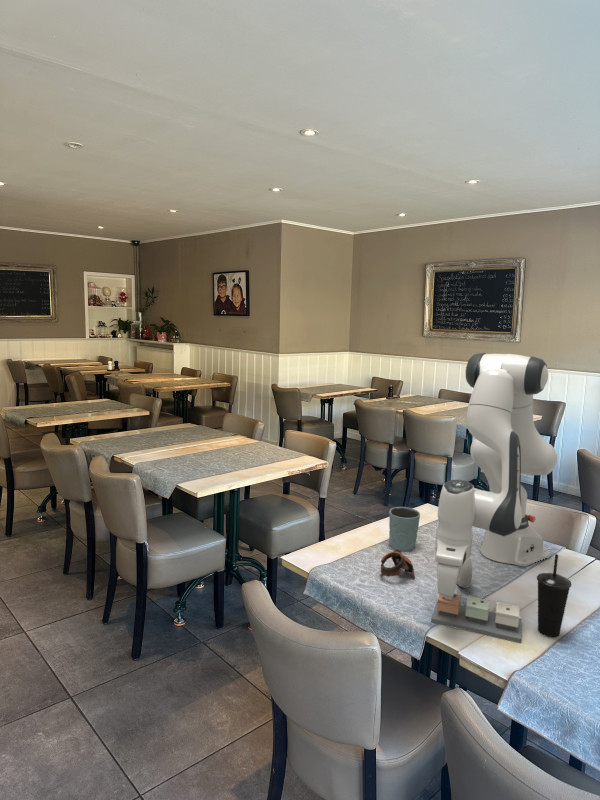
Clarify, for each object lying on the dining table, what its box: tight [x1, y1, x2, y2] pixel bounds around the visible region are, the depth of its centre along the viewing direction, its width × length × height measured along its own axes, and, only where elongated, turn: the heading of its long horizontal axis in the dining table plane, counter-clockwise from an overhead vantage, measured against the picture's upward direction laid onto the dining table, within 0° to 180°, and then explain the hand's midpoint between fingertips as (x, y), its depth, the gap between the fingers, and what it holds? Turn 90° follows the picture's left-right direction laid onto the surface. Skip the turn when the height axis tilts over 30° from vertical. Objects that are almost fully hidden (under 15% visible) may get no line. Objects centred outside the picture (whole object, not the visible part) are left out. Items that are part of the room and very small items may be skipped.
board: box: [430, 602, 523, 644], centre depth 139 cm, size 21×10×2 cm, turn 68°
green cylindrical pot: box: [388, 506, 421, 552], centre depth 184 cm, size 10×10×12 cm
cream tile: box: [495, 601, 520, 628], centre depth 136 cm, size 5×5×3 cm
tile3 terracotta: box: [436, 593, 462, 615], centre depth 141 cm, size 5×5×3 cm
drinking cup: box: [536, 553, 572, 639], centre depth 135 cm, size 8×8×20 cm
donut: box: [457, 556, 473, 589], centre depth 158 cm, size 10×4×10 cm, turn 178°
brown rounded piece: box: [380, 549, 416, 580], centre depth 164 cm, size 12×10×8 cm
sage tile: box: [465, 595, 491, 621], centre depth 139 cm, size 5×5×3 cm
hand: (449, 597), depth 141 cm, fingers closed, pressing on tile3 terracotta
